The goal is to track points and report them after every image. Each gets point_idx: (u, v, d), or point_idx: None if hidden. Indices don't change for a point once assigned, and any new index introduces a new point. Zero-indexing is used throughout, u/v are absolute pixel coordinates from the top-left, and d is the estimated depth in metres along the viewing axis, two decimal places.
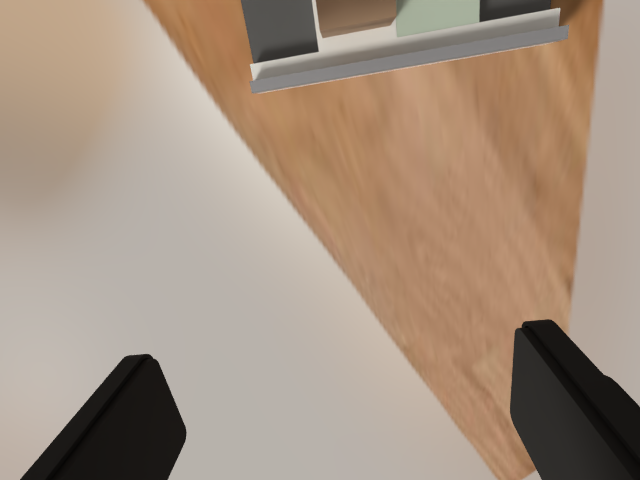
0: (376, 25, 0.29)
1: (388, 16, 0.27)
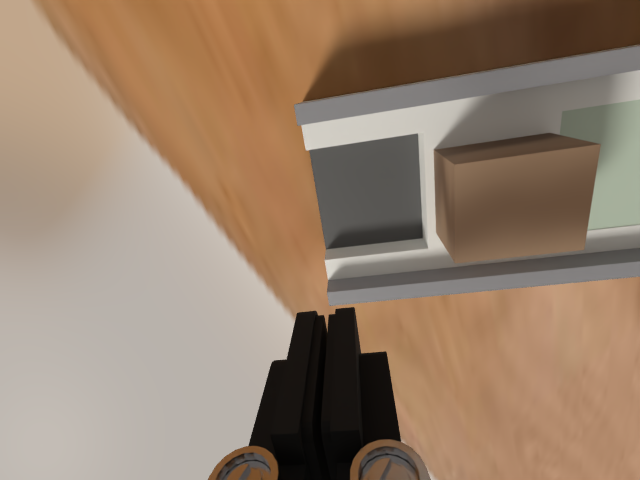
0: None
1: (570, 249, 0.17)
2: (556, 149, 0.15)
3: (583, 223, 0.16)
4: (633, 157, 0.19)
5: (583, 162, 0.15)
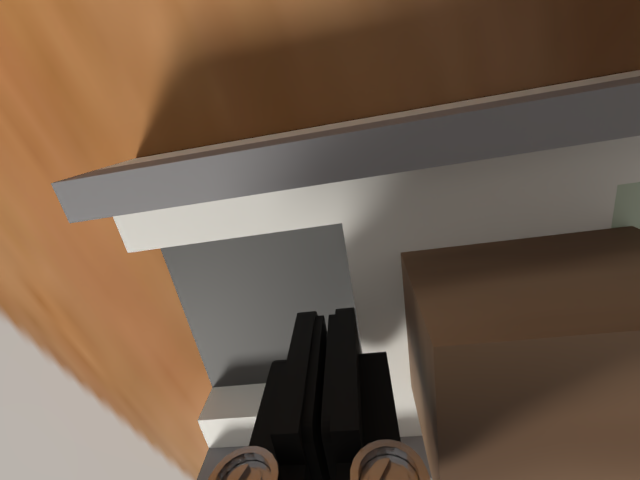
0: None
1: None
2: None
3: None
4: None
5: None
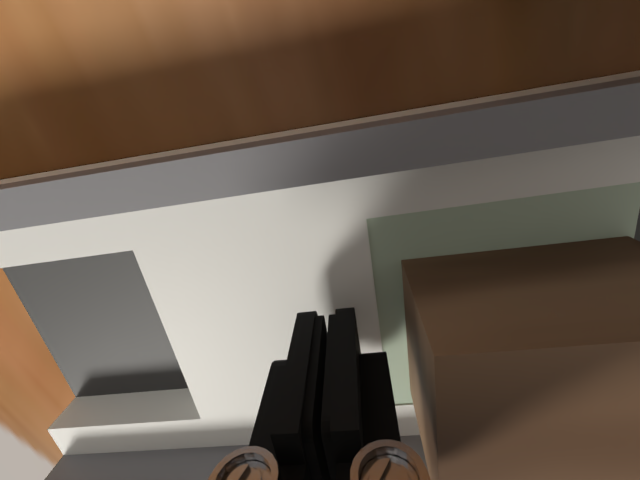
0: None
1: None
2: None
3: None
4: None
5: None
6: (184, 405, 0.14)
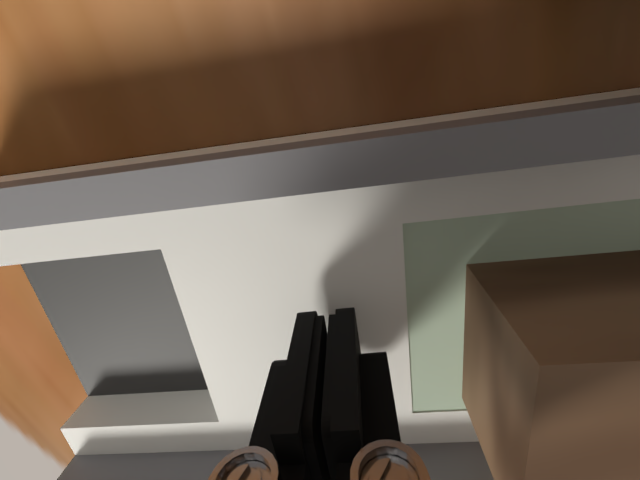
0: None
1: None
2: None
3: None
4: None
5: None
6: (201, 407, 0.14)
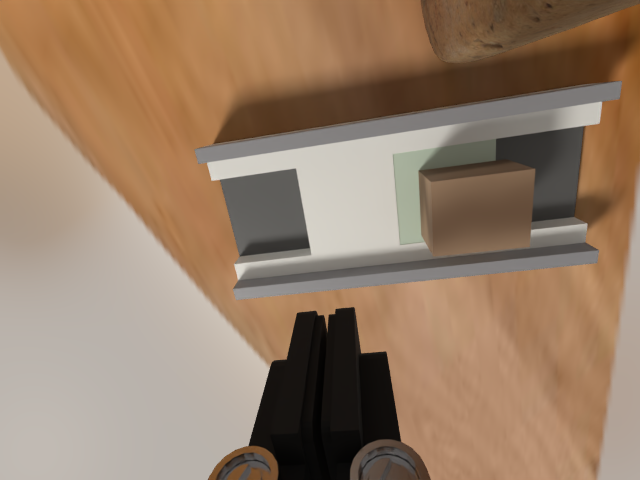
0: None
1: (519, 246, 0.22)
2: (504, 172, 0.21)
3: (527, 226, 0.22)
4: None
5: (524, 181, 0.21)
6: (300, 253, 0.29)
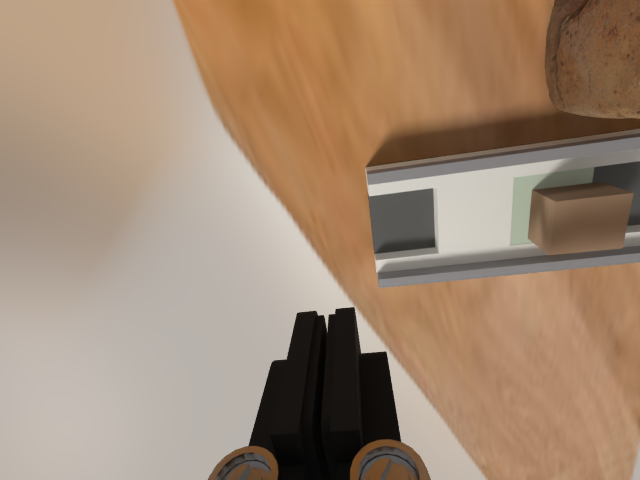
0: None
1: (614, 248, 0.30)
2: (610, 194, 0.29)
3: (622, 233, 0.30)
4: None
5: (624, 201, 0.29)
6: (427, 251, 0.37)
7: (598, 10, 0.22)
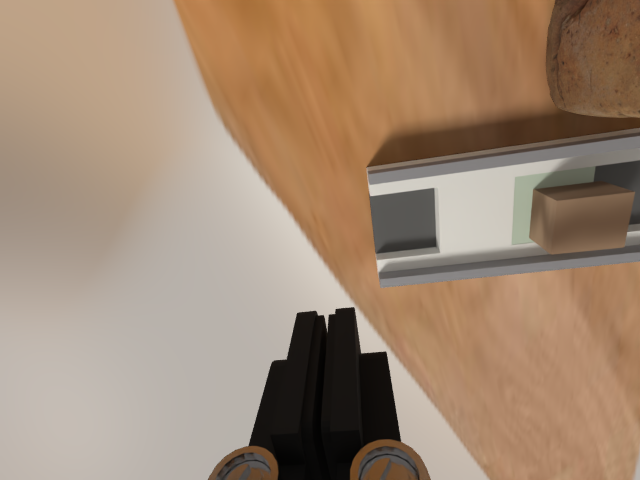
0: None
1: (616, 247, 0.30)
2: (611, 193, 0.29)
3: (624, 232, 0.30)
4: None
5: (625, 200, 0.29)
6: (428, 251, 0.37)
7: (600, 9, 0.22)
